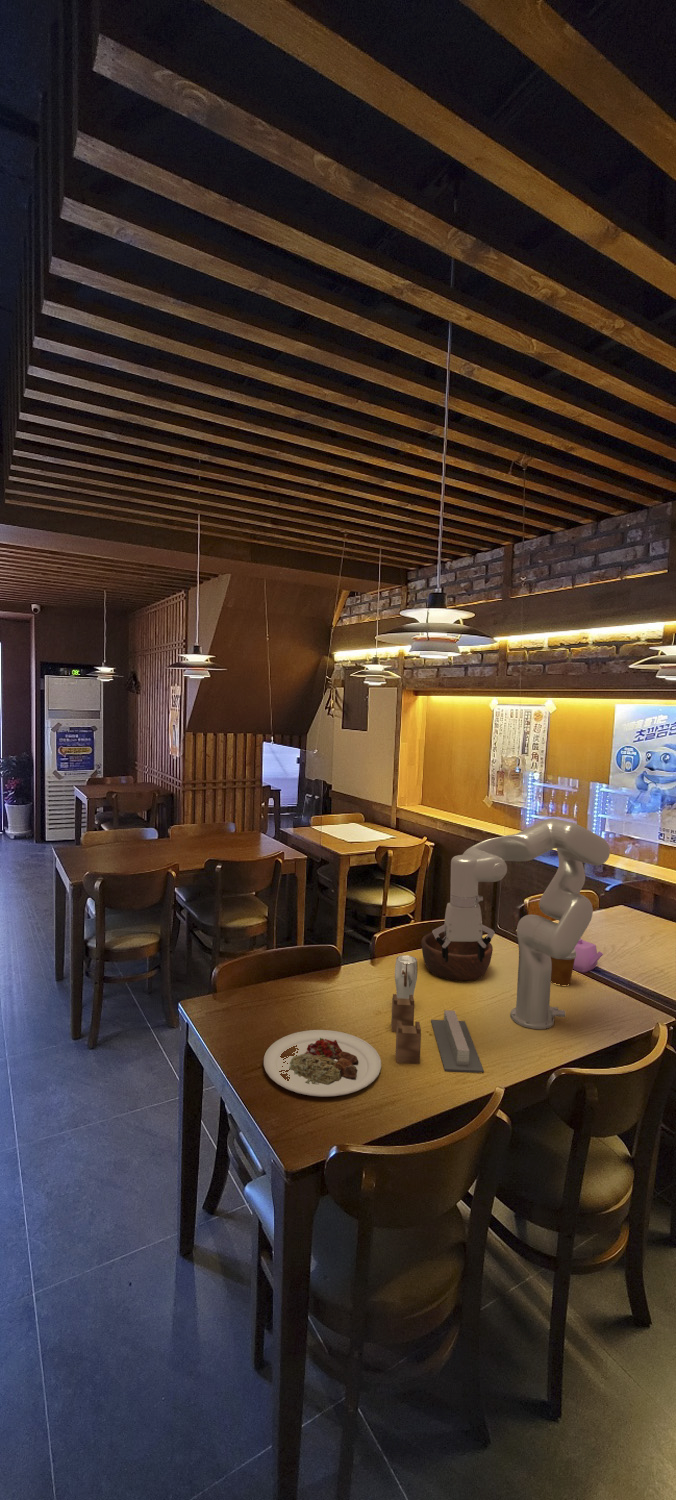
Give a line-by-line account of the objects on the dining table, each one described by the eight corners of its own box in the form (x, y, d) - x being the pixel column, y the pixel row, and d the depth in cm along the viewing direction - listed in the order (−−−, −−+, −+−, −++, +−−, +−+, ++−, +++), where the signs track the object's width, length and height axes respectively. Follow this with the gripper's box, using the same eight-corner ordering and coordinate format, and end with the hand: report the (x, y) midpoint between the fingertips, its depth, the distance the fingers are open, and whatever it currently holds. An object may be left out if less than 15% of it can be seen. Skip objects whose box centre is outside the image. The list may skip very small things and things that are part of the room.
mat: (464, 1023, 186) (464, 1021, 186) (483, 1073, 160) (484, 1070, 160) (431, 1021, 186) (431, 1019, 186) (444, 1071, 160) (444, 1068, 160)
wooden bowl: (420, 954, 239) (421, 927, 239) (487, 960, 236) (489, 933, 235) (420, 981, 215) (421, 952, 214) (495, 988, 211) (496, 958, 211)
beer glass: (414, 1013, 191) (417, 964, 191) (392, 1010, 193) (394, 962, 192) (416, 1002, 198) (418, 956, 197) (394, 1000, 200) (396, 953, 199)
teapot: (608, 971, 230) (610, 943, 229) (592, 977, 223) (594, 949, 223) (564, 955, 244) (565, 929, 243) (548, 961, 238) (550, 934, 237)
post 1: (411, 1025, 184) (413, 994, 183) (413, 1032, 180) (414, 1001, 179) (391, 1024, 184) (392, 994, 183) (392, 1031, 180) (393, 1000, 179)
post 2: (418, 1055, 168) (419, 1021, 167) (419, 1063, 164) (421, 1029, 163) (395, 1054, 168) (396, 1020, 167) (396, 1062, 164) (398, 1028, 163)
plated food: (285, 1114, 141) (286, 1100, 141) (249, 1047, 169) (249, 1035, 169) (402, 1087, 153) (403, 1074, 153) (350, 1028, 181) (351, 1017, 181)
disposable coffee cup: (577, 981, 219) (579, 947, 219) (571, 991, 211) (573, 956, 211) (549, 974, 224) (551, 941, 224) (542, 983, 216) (544, 949, 216)
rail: (454, 1024, 184) (454, 1010, 184) (468, 1065, 162) (469, 1050, 162) (443, 1023, 184) (444, 1010, 184) (456, 1065, 162) (457, 1050, 162)
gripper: (491, 896, 179) (490, 954, 180) (430, 896, 179) (429, 954, 180) (498, 904, 171) (497, 965, 173) (435, 904, 171) (434, 965, 172)
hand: (462, 960), depth 176 cm, fingers open, 9 cm apart
